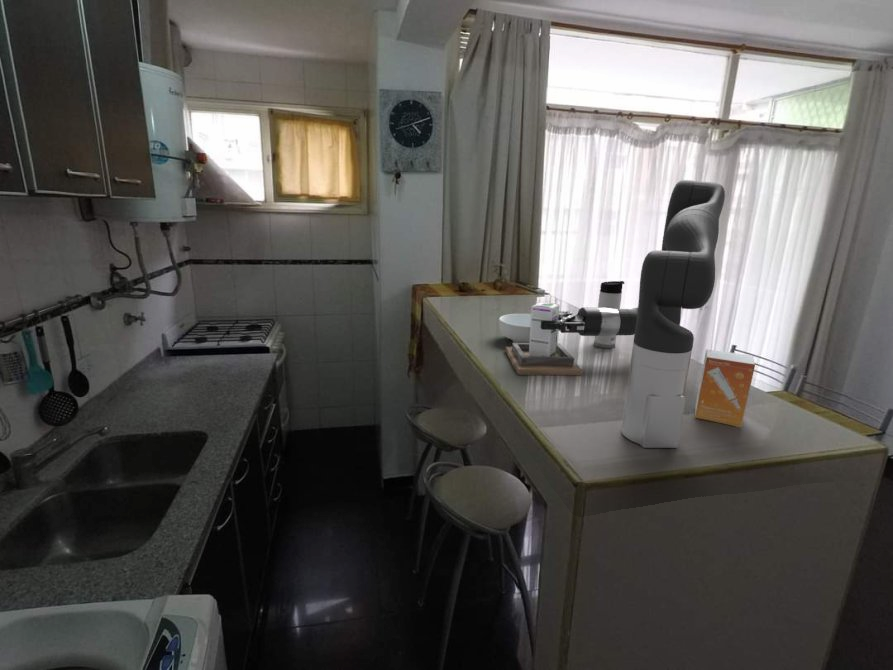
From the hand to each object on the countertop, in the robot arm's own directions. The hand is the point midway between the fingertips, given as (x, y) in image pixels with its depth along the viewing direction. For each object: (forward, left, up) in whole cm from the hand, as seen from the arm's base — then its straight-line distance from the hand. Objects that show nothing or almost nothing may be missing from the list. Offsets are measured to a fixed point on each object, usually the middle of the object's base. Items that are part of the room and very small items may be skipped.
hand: (537, 321), depth 118 cm
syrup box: (0, -2, -10) cm, 10 cm away
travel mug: (+17, -26, -12) cm, 33 cm away
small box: (-33, -30, -12) cm, 46 cm away
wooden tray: (0, -2, -11) cm, 12 cm away
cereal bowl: (+21, -2, -12) cm, 24 cm away
